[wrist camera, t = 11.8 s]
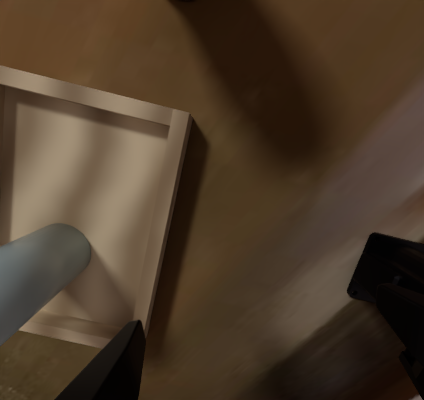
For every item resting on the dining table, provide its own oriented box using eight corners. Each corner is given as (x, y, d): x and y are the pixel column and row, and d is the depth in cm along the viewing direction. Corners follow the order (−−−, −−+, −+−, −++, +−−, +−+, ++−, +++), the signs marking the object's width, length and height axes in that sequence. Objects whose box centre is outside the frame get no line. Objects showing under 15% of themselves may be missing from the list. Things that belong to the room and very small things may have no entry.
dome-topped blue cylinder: (101, 245, 20) (-27, 353, 10) (73, 285, 21) (-73, 425, 11) (51, 211, 20) (-148, 286, 9) (24, 255, 21) (-184, 369, 10)
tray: (193, 118, 19) (189, 112, 16) (147, 335, 23) (138, 356, 21) (2, 70, 18) (-31, 57, 16) (-7, 300, 23) (-34, 318, 21)
